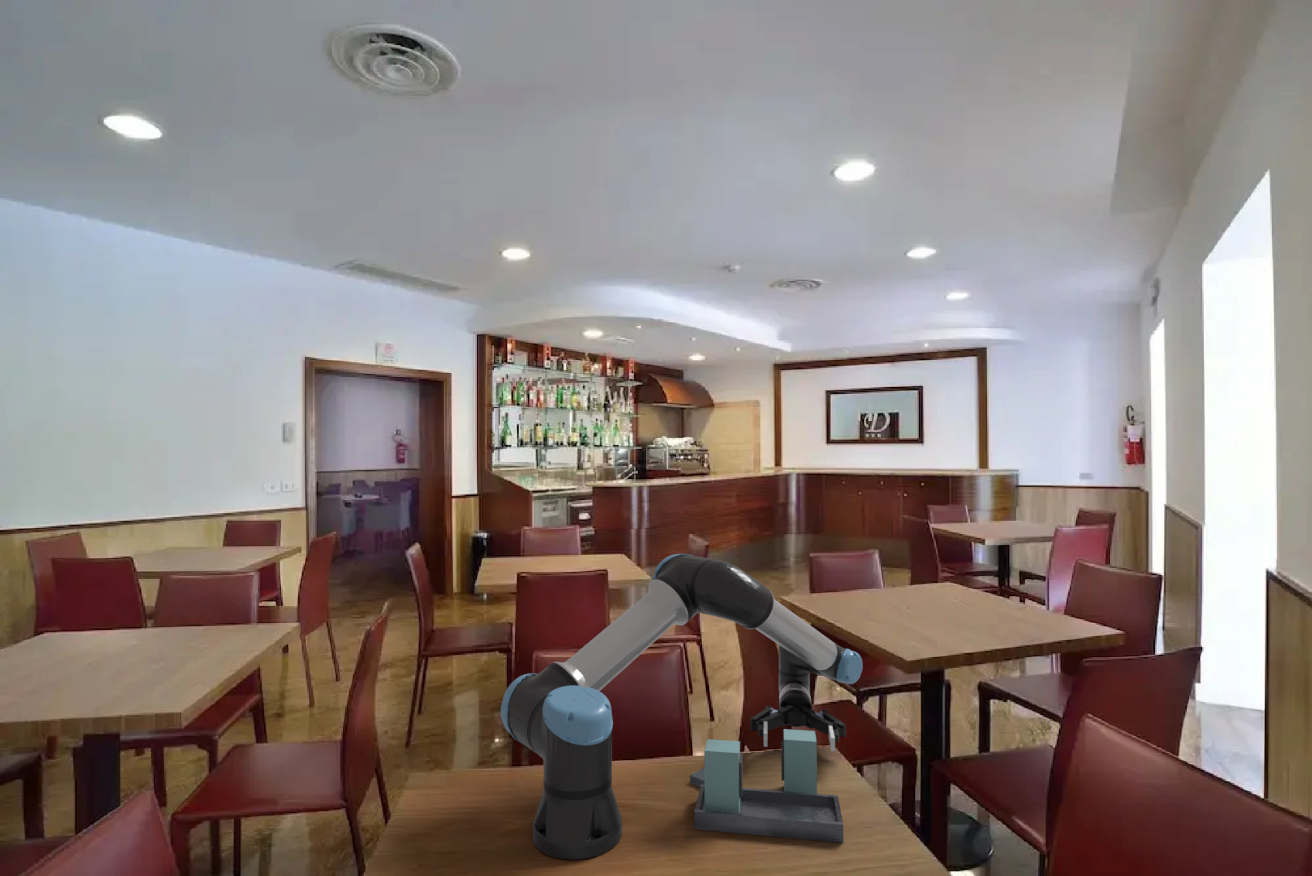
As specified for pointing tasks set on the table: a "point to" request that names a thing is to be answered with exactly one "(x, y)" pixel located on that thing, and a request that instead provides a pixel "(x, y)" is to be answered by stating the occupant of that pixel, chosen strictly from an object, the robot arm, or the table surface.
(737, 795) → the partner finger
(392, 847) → the table surface
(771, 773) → the table surface
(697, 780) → the bracket
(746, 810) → the dark gray tray
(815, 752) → the finger
